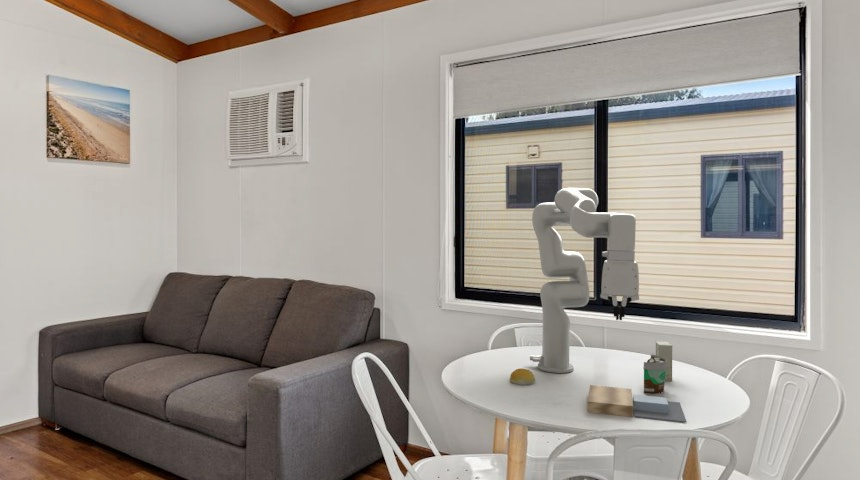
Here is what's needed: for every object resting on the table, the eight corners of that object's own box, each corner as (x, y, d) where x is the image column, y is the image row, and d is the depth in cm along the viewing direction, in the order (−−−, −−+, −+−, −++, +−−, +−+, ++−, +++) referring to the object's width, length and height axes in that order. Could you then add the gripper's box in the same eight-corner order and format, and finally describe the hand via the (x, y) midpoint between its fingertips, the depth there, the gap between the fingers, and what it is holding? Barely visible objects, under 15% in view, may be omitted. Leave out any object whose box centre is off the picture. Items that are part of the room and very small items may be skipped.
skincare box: (672, 381, 186) (673, 345, 185) (658, 380, 187) (659, 344, 186) (668, 376, 192) (669, 341, 191) (654, 375, 193) (655, 340, 192)
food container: (664, 397, 169) (664, 365, 169) (642, 394, 172) (643, 362, 172) (670, 387, 180) (671, 356, 179) (650, 384, 183) (651, 354, 182)
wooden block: (587, 411, 157) (587, 401, 157) (589, 394, 172) (590, 384, 172) (632, 416, 153) (632, 406, 153) (631, 398, 168) (631, 388, 168)
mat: (634, 417, 153) (634, 415, 153) (632, 398, 168) (632, 397, 168) (686, 422, 149) (686, 421, 149) (679, 403, 164) (679, 402, 164)
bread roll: (509, 385, 182) (509, 373, 182) (511, 377, 190) (511, 365, 190) (534, 386, 180) (535, 374, 180) (535, 378, 189) (535, 367, 189)
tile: (633, 409, 157) (633, 400, 157) (632, 402, 163) (633, 394, 163) (668, 413, 155) (668, 404, 155) (666, 406, 160) (666, 397, 160)
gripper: (593, 256, 160) (591, 319, 161) (649, 258, 155) (647, 323, 156) (594, 254, 167) (592, 315, 168) (647, 256, 162) (645, 318, 163)
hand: (618, 319), depth 162 cm, fingers closed
